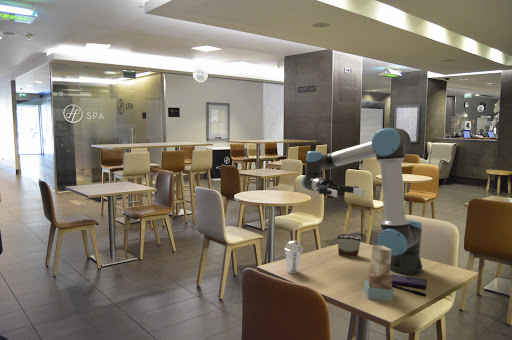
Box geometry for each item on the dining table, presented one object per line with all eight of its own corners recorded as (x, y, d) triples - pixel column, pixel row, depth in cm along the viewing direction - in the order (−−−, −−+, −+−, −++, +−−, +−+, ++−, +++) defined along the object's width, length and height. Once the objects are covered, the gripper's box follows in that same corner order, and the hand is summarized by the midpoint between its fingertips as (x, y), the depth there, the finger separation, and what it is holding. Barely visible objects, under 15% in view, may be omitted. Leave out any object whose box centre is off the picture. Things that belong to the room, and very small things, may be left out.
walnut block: (388, 281, 157) (389, 270, 156) (391, 289, 149) (392, 278, 149) (367, 279, 158) (368, 268, 158) (369, 287, 151) (370, 275, 150)
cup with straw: (278, 271, 175) (280, 226, 173) (289, 266, 182) (291, 223, 180) (295, 276, 170) (297, 230, 168) (306, 270, 177) (308, 226, 175)
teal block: (387, 291, 158) (388, 280, 158) (392, 301, 150) (393, 289, 149) (364, 289, 160) (365, 278, 159) (367, 299, 151) (368, 287, 150)
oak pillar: (381, 270, 156) (383, 245, 155) (389, 275, 152) (391, 249, 151) (370, 271, 155) (372, 246, 154) (378, 276, 150) (380, 250, 149)
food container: (360, 253, 205) (361, 234, 204) (360, 257, 199) (362, 237, 198) (335, 251, 208) (337, 232, 207) (335, 254, 202) (336, 235, 201)
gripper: (344, 193, 194) (373, 201, 175) (299, 194, 185) (324, 203, 165) (345, 177, 193) (374, 184, 174) (300, 178, 184) (325, 185, 164)
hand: (350, 193), depth 170 cm, fingers open, 13 cm apart
